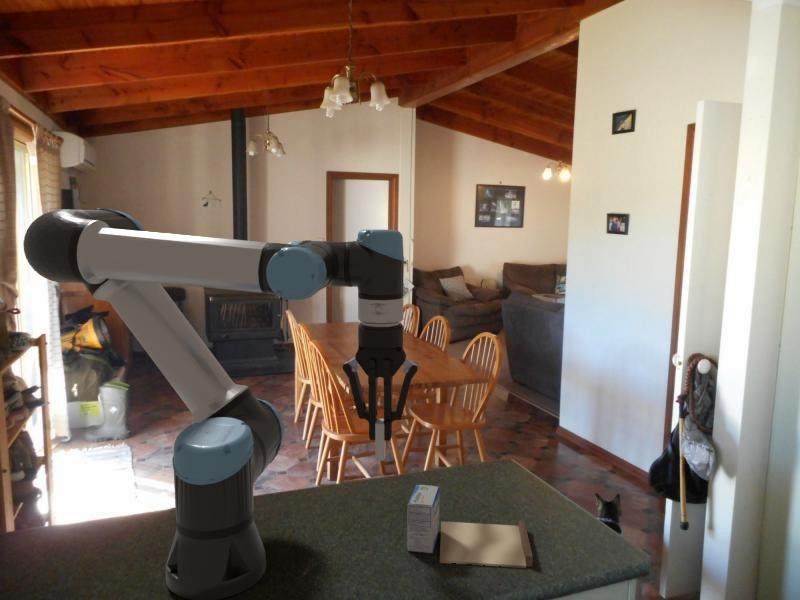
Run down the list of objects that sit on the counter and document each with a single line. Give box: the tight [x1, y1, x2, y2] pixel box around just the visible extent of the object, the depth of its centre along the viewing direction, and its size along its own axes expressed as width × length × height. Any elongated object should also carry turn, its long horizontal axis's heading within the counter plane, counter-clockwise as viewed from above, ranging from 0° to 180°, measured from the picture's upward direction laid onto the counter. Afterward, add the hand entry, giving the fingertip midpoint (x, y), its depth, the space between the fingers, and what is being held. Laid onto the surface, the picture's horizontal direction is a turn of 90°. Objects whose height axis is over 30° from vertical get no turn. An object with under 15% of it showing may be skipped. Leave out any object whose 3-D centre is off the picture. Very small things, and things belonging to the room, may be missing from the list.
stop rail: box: [517, 519, 534, 568], centre depth 107 cm, size 1×12×2 cm, turn 175°
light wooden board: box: [439, 521, 527, 569], centre depth 108 cm, size 14×13×1 cm
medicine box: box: [406, 484, 441, 554], centre depth 108 cm, size 8×4×9 cm, turn 168°
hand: (380, 457), depth 107 cm, fingers closed
